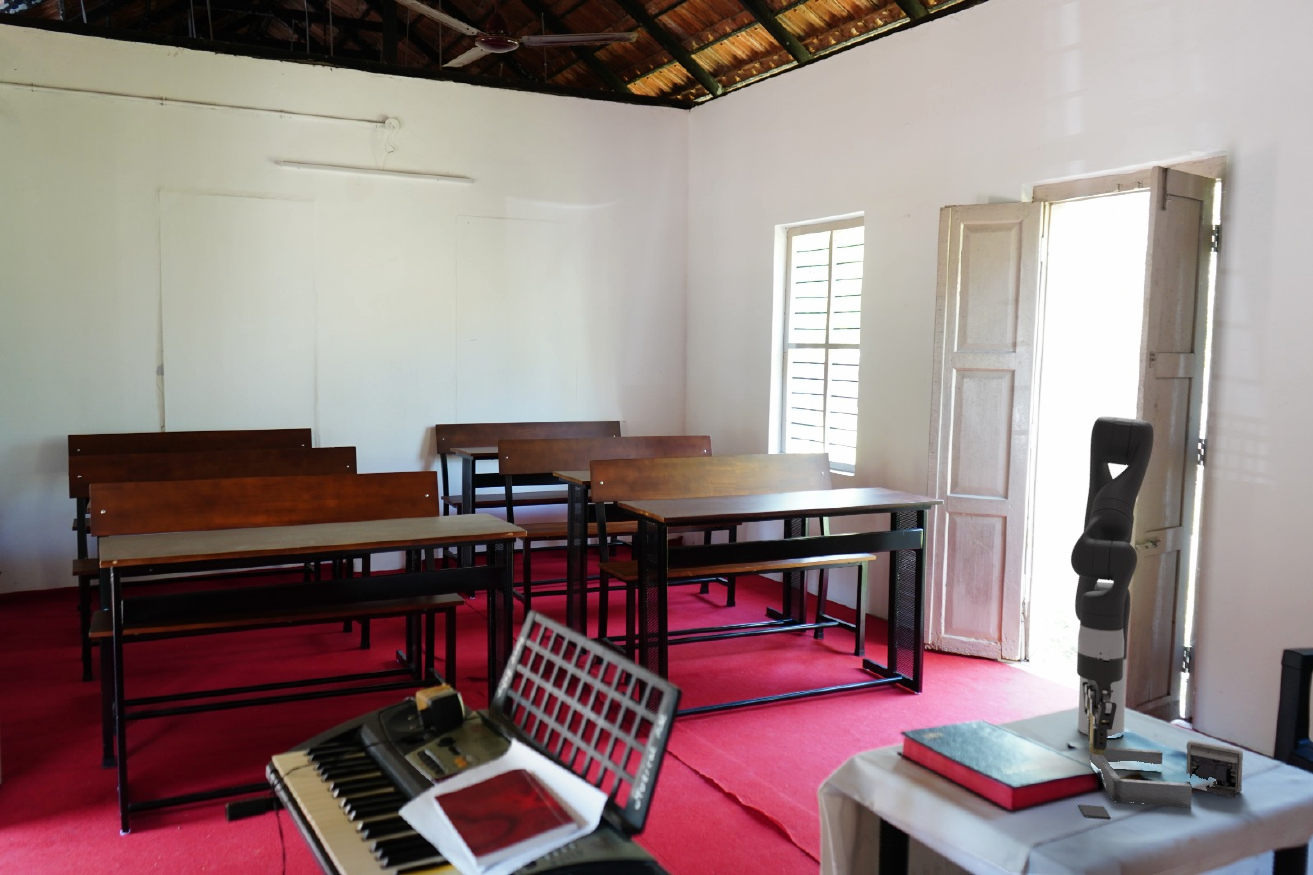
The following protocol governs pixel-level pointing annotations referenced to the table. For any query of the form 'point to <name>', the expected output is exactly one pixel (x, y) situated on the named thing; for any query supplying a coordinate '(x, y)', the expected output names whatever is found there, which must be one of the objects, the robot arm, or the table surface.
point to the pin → (1091, 749)
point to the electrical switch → (1216, 766)
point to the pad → (1094, 811)
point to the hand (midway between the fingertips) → (1097, 745)
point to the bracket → (1140, 788)
